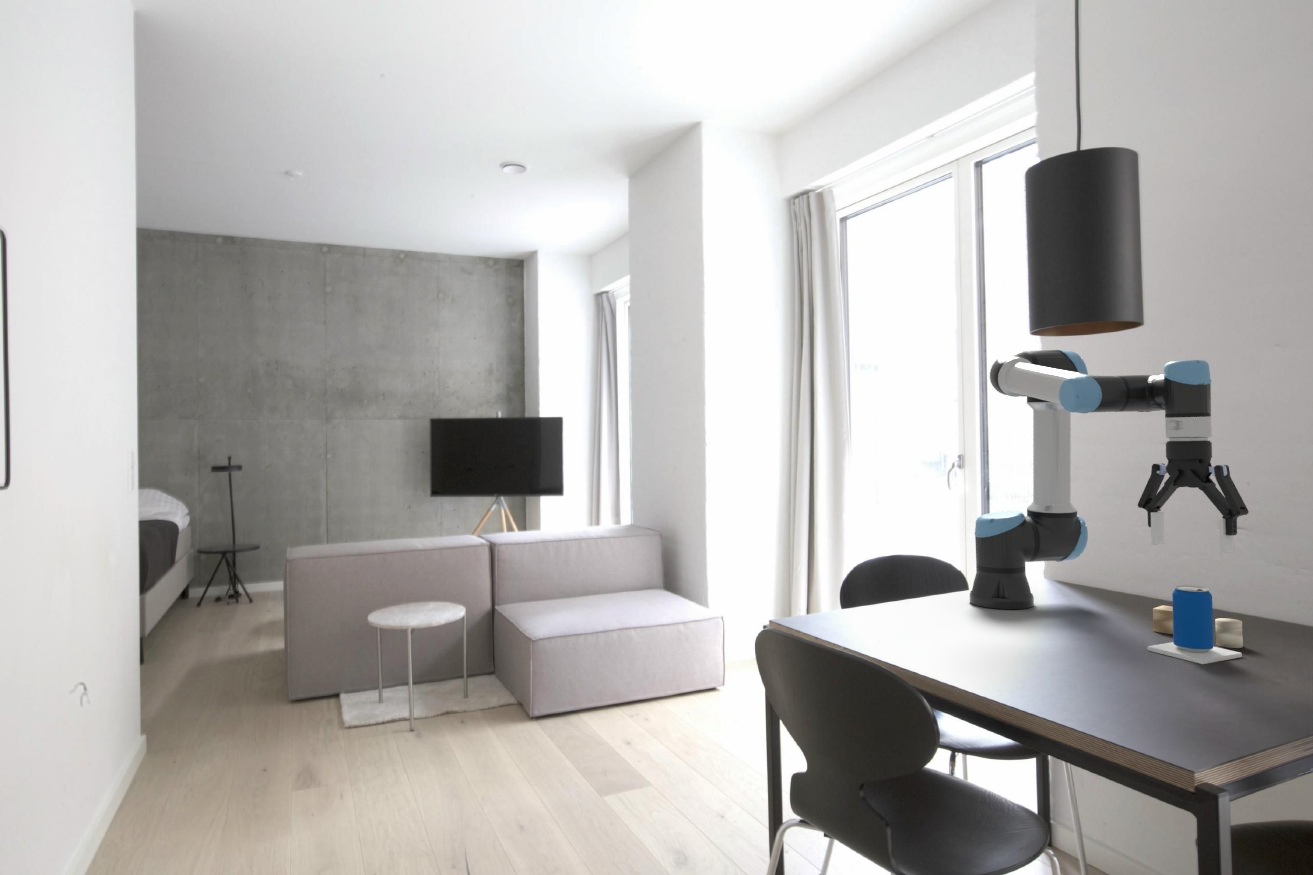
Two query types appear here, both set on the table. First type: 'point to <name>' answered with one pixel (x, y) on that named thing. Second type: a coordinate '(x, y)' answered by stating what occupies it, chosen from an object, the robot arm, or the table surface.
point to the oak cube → (1163, 619)
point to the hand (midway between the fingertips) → (1190, 548)
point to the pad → (1202, 658)
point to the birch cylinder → (1229, 633)
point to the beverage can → (1192, 618)
